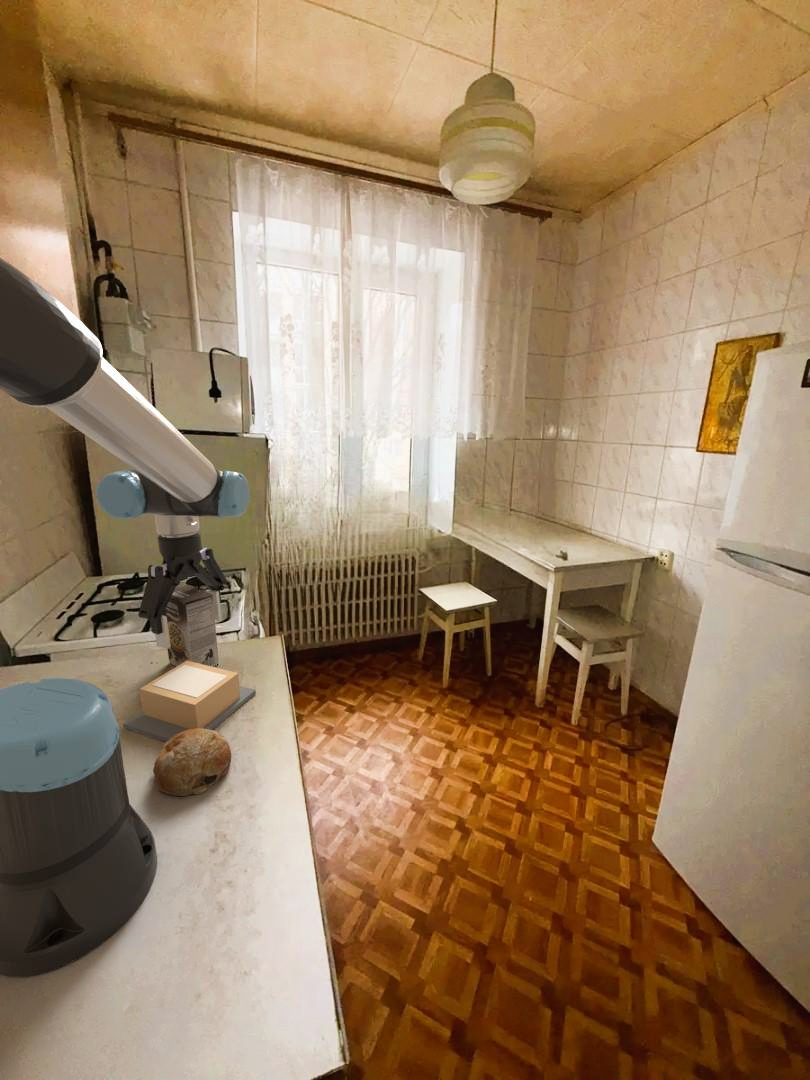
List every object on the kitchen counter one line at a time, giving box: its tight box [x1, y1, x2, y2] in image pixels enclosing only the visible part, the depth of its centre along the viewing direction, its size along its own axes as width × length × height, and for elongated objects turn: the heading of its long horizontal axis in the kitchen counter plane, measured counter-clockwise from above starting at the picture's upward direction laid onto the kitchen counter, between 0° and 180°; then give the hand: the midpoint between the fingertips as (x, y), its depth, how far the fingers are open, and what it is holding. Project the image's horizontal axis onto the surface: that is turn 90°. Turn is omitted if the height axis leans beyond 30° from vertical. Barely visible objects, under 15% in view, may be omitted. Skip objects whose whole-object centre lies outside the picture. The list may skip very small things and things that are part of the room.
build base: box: [122, 661, 257, 743], centre depth 77 cm, size 16×14×6 cm
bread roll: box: [152, 728, 232, 797], centre depth 64 cm, size 10×10×8 cm
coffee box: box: [163, 584, 220, 667], centre depth 91 cm, size 9×6×16 cm
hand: (191, 631), depth 92 cm, fingers open, 13 cm apart
